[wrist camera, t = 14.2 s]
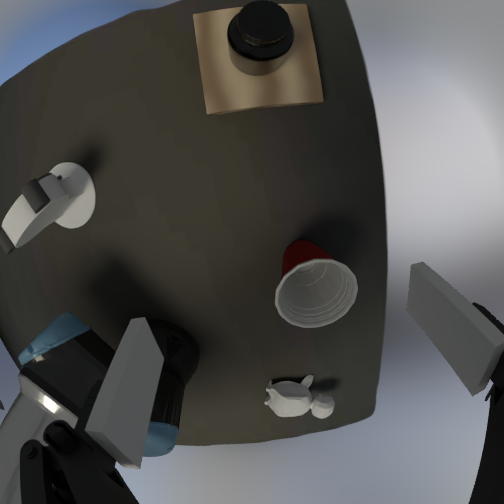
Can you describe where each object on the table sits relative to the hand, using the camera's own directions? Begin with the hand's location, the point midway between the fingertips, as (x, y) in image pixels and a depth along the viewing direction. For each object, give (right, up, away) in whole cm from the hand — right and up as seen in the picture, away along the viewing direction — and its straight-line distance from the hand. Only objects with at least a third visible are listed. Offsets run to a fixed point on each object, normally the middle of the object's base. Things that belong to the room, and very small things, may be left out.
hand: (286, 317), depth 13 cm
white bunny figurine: (+8, -27, +46) cm, 54 cm away
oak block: (-1, +30, +20) cm, 36 cm away
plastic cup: (+6, +2, +33) cm, 34 cm away
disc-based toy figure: (-32, +13, +27) cm, 44 cm away
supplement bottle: (-1, +28, +17) cm, 33 cm away
